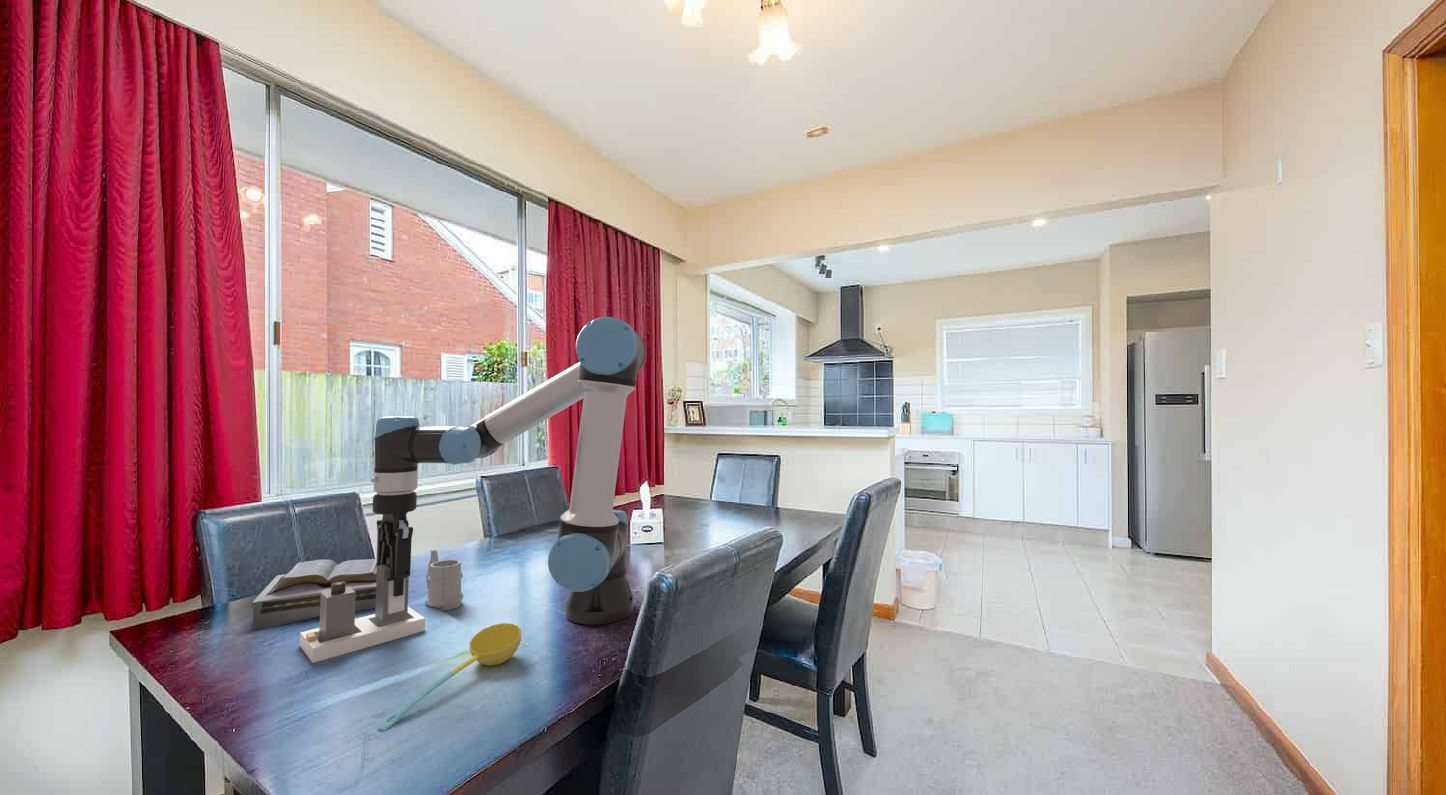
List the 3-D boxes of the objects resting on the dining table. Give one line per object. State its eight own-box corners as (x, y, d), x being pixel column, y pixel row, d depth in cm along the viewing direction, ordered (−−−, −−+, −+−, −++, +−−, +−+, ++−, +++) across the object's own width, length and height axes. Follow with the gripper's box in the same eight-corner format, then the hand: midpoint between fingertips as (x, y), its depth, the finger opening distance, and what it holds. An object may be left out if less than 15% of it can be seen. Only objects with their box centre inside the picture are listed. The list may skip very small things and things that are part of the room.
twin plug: (353, 645, 96) (355, 583, 97) (324, 653, 93) (327, 589, 93) (347, 638, 99) (349, 578, 100) (318, 646, 96) (321, 583, 96)
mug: (435, 615, 114) (437, 560, 114) (411, 603, 121) (412, 551, 121) (469, 604, 120) (470, 553, 120) (444, 594, 127) (445, 545, 127)
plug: (407, 615, 103) (409, 557, 104) (382, 621, 100) (384, 562, 100) (399, 609, 106) (401, 553, 106) (375, 616, 103) (377, 557, 103)
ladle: (534, 649, 96) (531, 621, 95) (408, 770, 72) (402, 735, 71) (496, 640, 99) (493, 613, 98) (363, 753, 75) (357, 719, 74)
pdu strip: (424, 635, 103) (425, 614, 103) (312, 668, 89) (313, 643, 90) (406, 622, 110) (407, 602, 110) (299, 651, 96) (300, 628, 96)
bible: (285, 596, 125) (287, 555, 126) (411, 585, 134) (412, 547, 134) (229, 635, 103) (231, 586, 104) (383, 619, 112) (385, 574, 112)
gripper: (360, 489, 107) (356, 602, 106) (388, 499, 95) (384, 625, 95) (401, 486, 112) (397, 593, 112) (432, 494, 101) (428, 614, 100)
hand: (391, 608), depth 103 cm, fingers closed on plug, 4 cm apart
